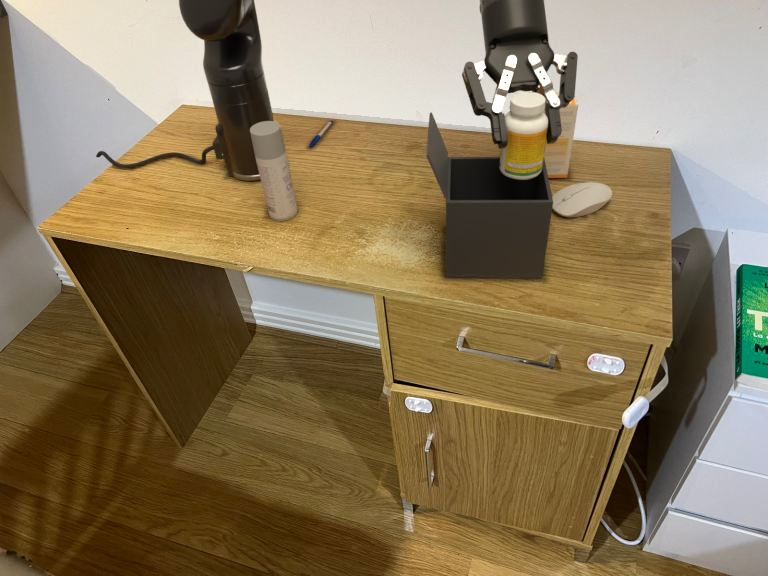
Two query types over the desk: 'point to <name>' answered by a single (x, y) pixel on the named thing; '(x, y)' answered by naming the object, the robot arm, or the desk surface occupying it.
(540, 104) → the supplement bottle
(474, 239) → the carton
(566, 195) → the computer mouse
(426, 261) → the desk surface
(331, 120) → the ballpoint pen
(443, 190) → the flap
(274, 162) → the container
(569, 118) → the supplement box
